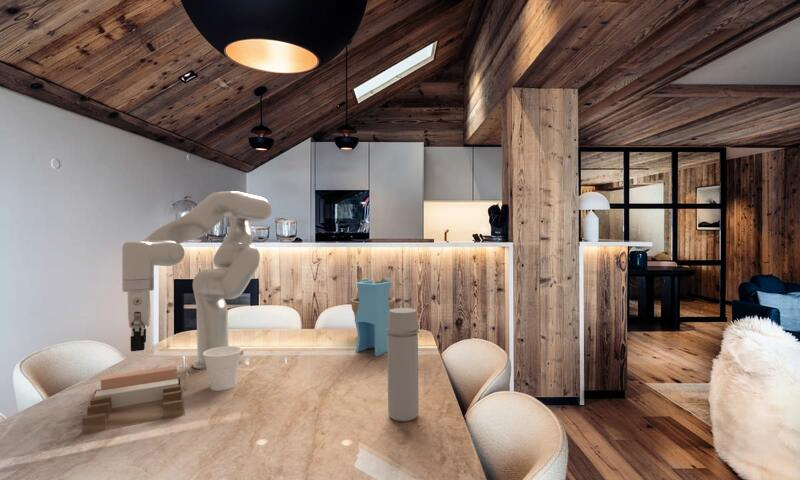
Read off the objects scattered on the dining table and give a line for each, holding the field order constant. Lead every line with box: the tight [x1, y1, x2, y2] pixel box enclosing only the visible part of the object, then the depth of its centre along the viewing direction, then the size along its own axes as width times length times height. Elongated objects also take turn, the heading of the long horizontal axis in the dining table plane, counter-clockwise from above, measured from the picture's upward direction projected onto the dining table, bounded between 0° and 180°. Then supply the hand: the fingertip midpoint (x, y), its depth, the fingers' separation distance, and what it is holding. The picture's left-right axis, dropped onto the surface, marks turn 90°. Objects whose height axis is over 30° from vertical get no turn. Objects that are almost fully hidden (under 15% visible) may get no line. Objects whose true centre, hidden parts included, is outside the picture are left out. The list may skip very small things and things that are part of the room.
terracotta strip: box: [100, 365, 178, 389], centre depth 122 cm, size 18×4×5 cm, turn 119°
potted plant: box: [350, 276, 396, 317], centre depth 180 cm, size 18×19×25 cm
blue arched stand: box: [354, 279, 392, 357], centre depth 158 cm, size 10×10×25 cm
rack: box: [79, 377, 186, 436], centre depth 105 cm, size 20×20×4 cm
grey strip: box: [93, 379, 178, 408], centre depth 110 cm, size 18×4×4 cm, turn 118°
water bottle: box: [386, 307, 421, 423], centre depth 102 cm, size 9×8×25 cm
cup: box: [203, 345, 242, 392], centre depth 120 cm, size 10×10×11 cm
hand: (138, 346), depth 121 cm, fingers open, 9 cm apart
